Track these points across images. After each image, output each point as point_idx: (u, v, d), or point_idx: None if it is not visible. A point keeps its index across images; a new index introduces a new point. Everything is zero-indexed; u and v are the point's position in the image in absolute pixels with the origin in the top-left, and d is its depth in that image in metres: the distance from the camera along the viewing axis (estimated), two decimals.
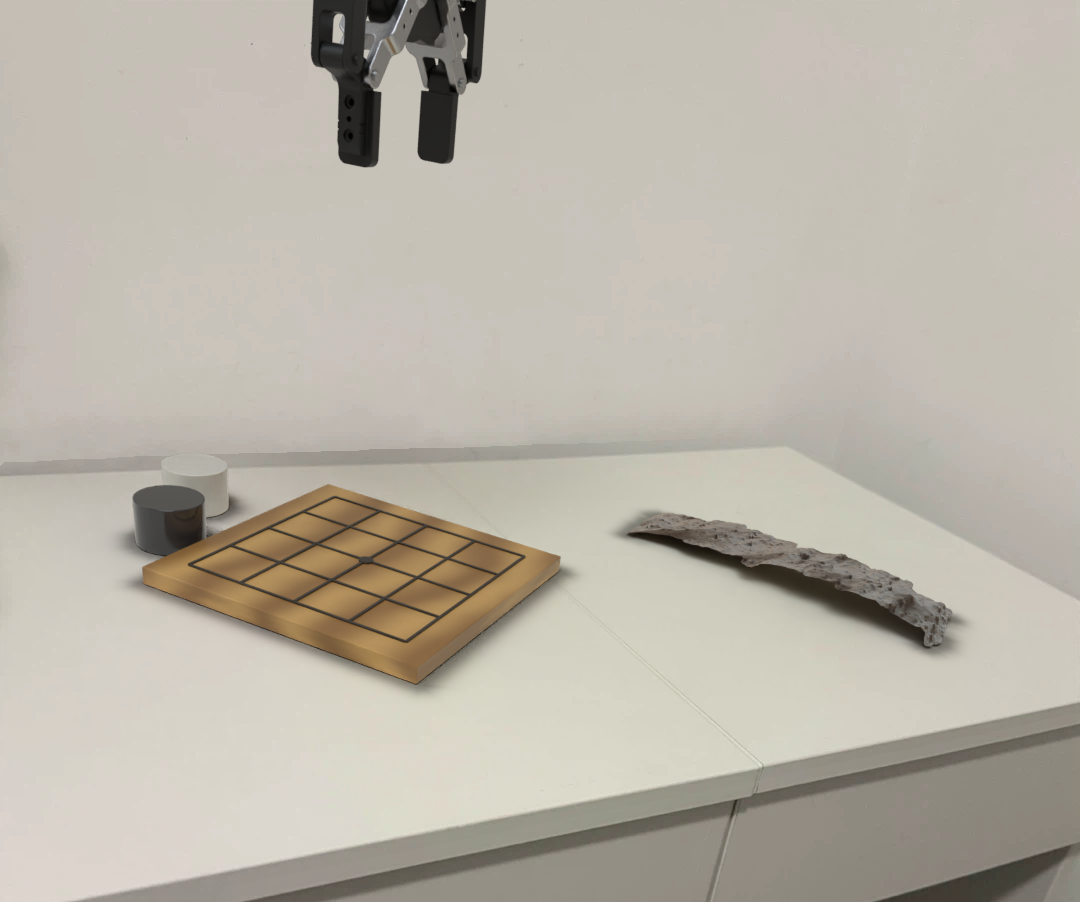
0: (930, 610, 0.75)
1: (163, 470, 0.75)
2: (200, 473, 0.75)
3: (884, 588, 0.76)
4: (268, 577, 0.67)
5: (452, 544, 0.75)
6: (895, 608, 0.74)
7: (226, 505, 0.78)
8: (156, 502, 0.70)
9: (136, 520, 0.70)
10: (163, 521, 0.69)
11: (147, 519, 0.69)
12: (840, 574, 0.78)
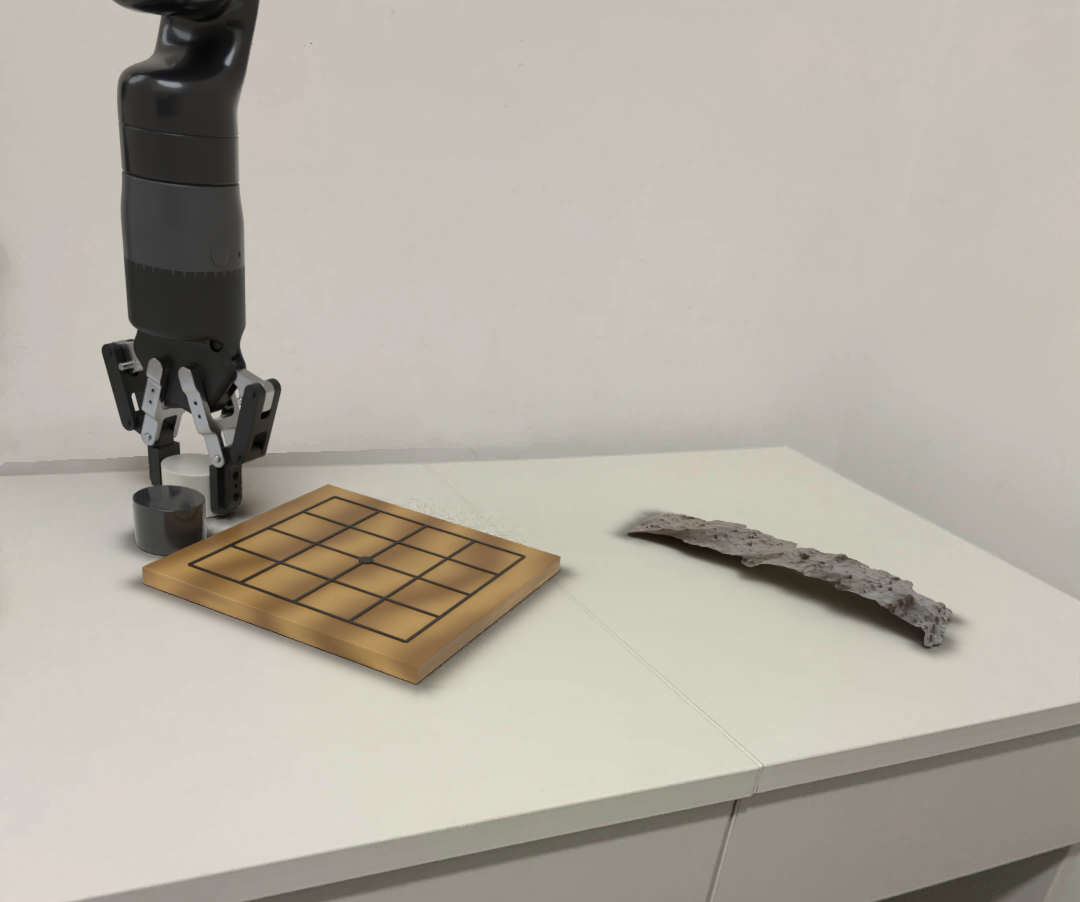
0: (930, 610, 0.75)
1: (163, 470, 0.75)
2: (200, 473, 0.75)
3: (884, 588, 0.76)
4: (268, 577, 0.67)
5: (452, 544, 0.75)
6: (895, 608, 0.74)
7: None
8: (156, 502, 0.70)
9: (136, 520, 0.70)
10: (163, 521, 0.69)
11: (147, 519, 0.69)
12: (840, 574, 0.78)
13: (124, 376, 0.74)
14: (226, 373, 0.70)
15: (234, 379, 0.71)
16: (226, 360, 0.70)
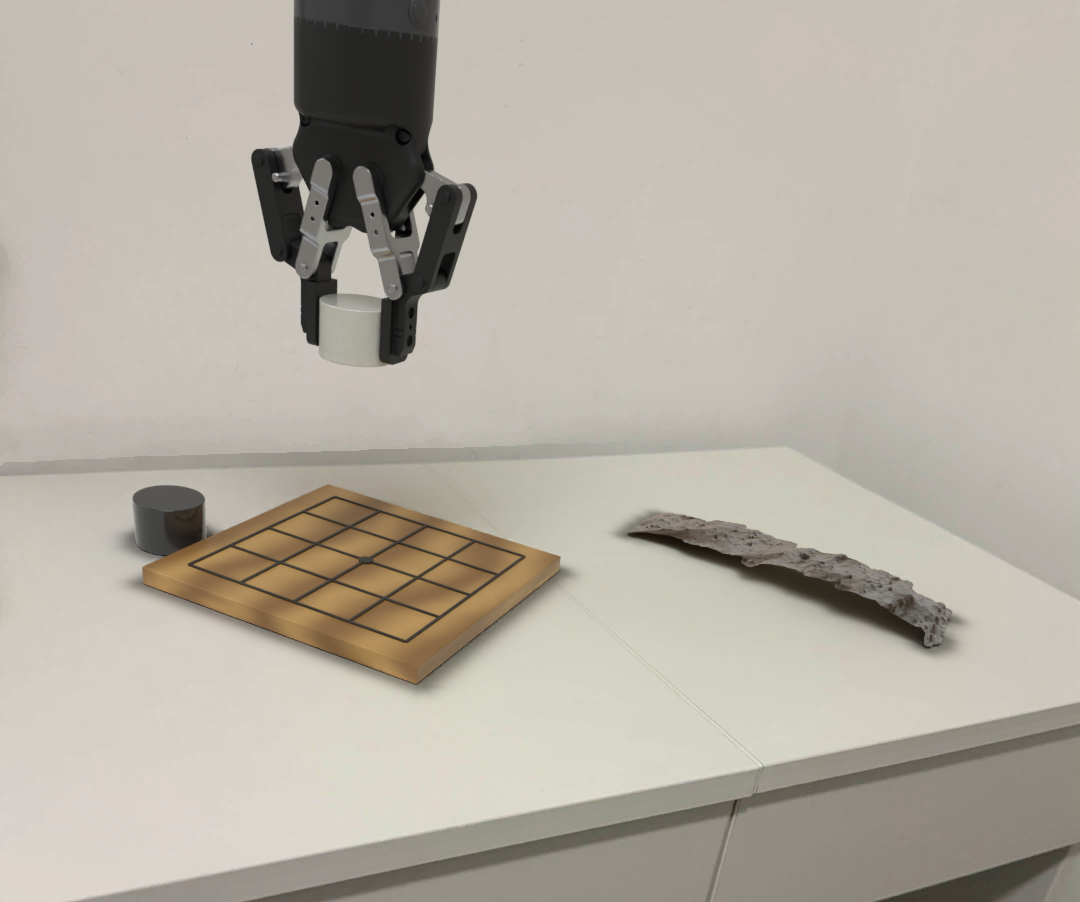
0: (930, 610, 0.75)
1: (324, 307, 0.62)
2: (369, 310, 0.62)
3: (884, 588, 0.76)
4: (268, 577, 0.67)
5: (452, 544, 0.75)
6: (895, 608, 0.74)
7: None
8: (156, 502, 0.70)
9: (136, 520, 0.70)
10: (163, 521, 0.69)
11: (147, 519, 0.69)
12: (840, 574, 0.78)
13: (277, 191, 0.61)
14: (414, 173, 0.57)
15: (421, 182, 0.58)
16: (414, 156, 0.57)
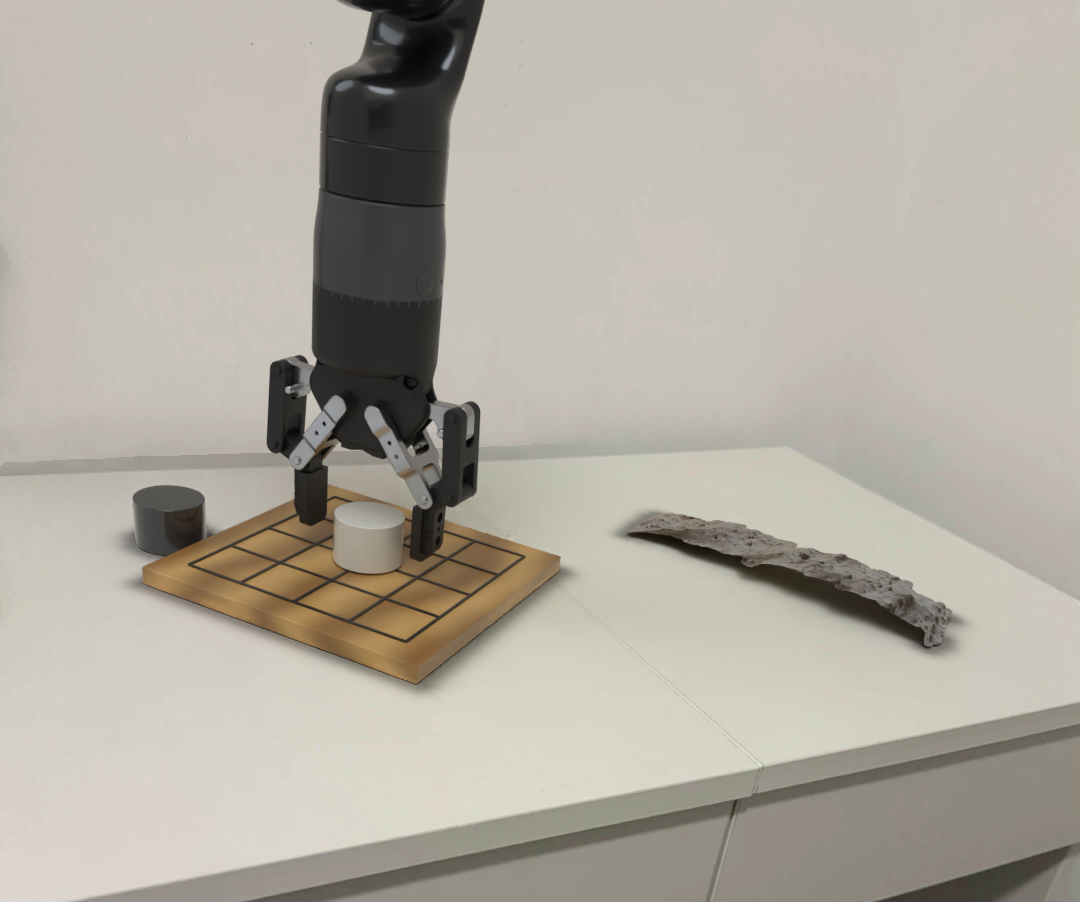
0: (930, 610, 0.75)
1: (338, 522, 0.68)
2: (379, 526, 0.68)
3: (884, 588, 0.76)
4: (268, 577, 0.67)
5: (452, 544, 0.75)
6: (895, 608, 0.74)
7: (401, 559, 0.71)
8: (156, 502, 0.70)
9: (136, 520, 0.70)
10: (163, 521, 0.69)
11: (147, 519, 0.69)
12: (840, 574, 0.78)
13: (287, 399, 0.67)
14: (420, 413, 0.63)
15: (426, 419, 0.64)
16: (416, 394, 0.63)
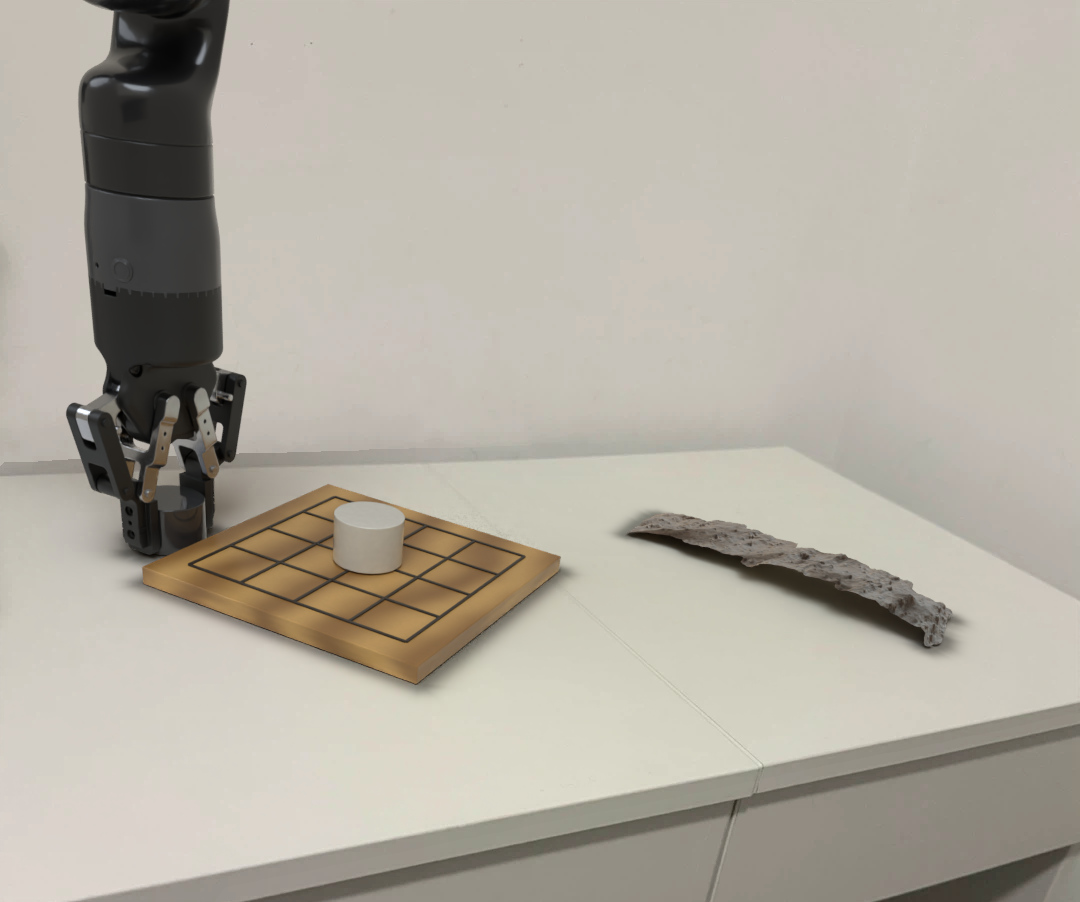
0: (930, 610, 0.75)
1: (338, 522, 0.68)
2: (379, 526, 0.68)
3: (884, 588, 0.76)
4: (268, 577, 0.67)
5: (452, 544, 0.75)
6: (895, 608, 0.74)
7: (401, 559, 0.71)
8: None
9: None
10: (163, 521, 0.69)
11: None
12: (840, 574, 0.78)
13: None
14: (216, 376, 0.69)
15: None
16: (212, 364, 0.69)
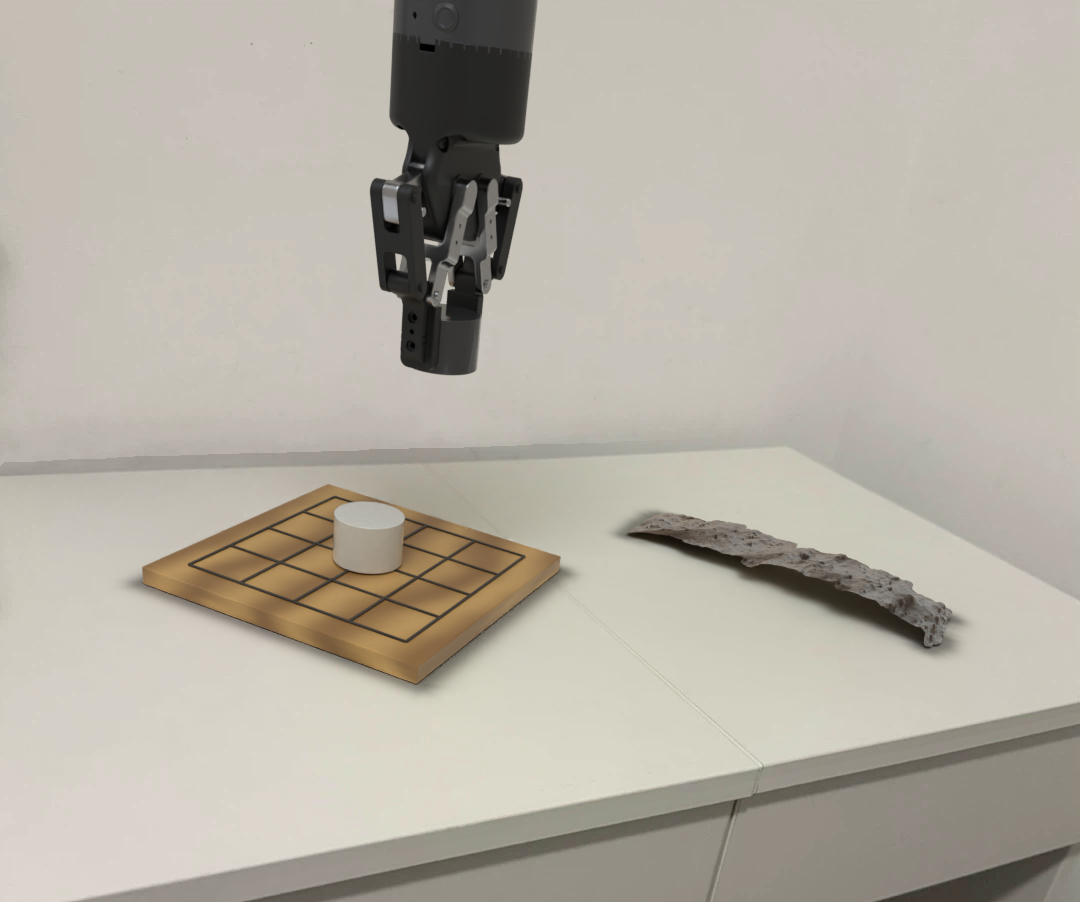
0: (930, 610, 0.75)
1: (338, 522, 0.68)
2: (379, 526, 0.68)
3: (884, 588, 0.76)
4: (268, 577, 0.67)
5: (452, 544, 0.75)
6: (895, 608, 0.74)
7: (401, 559, 0.71)
8: None
9: None
10: (444, 332, 0.63)
11: None
12: (840, 574, 0.78)
13: None
14: (500, 174, 0.63)
15: None
16: None
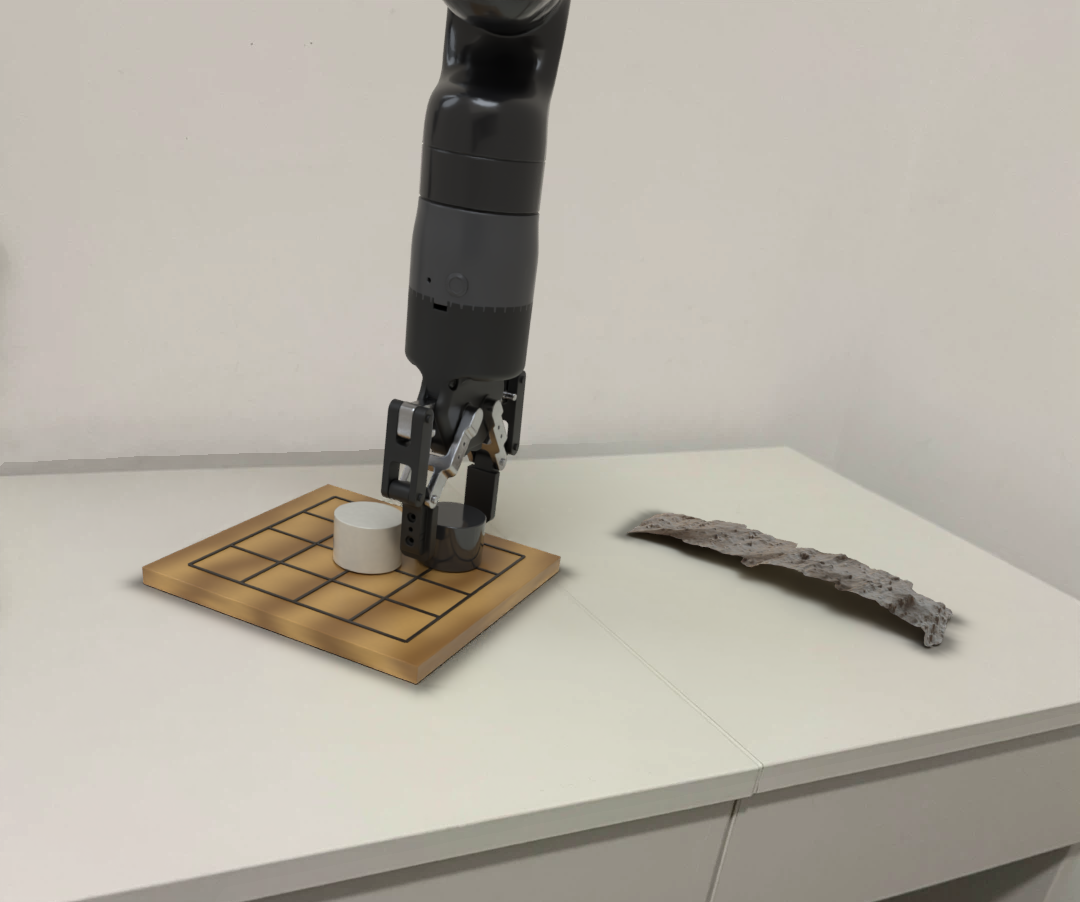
0: (930, 610, 0.75)
1: (338, 522, 0.68)
2: (379, 526, 0.68)
3: (884, 588, 0.76)
4: (268, 577, 0.67)
5: None
6: (895, 608, 0.74)
7: (401, 559, 0.71)
8: (443, 519, 0.70)
9: None
10: (453, 538, 0.70)
11: (436, 536, 0.70)
12: (840, 574, 0.78)
13: None
14: None
15: None
16: None
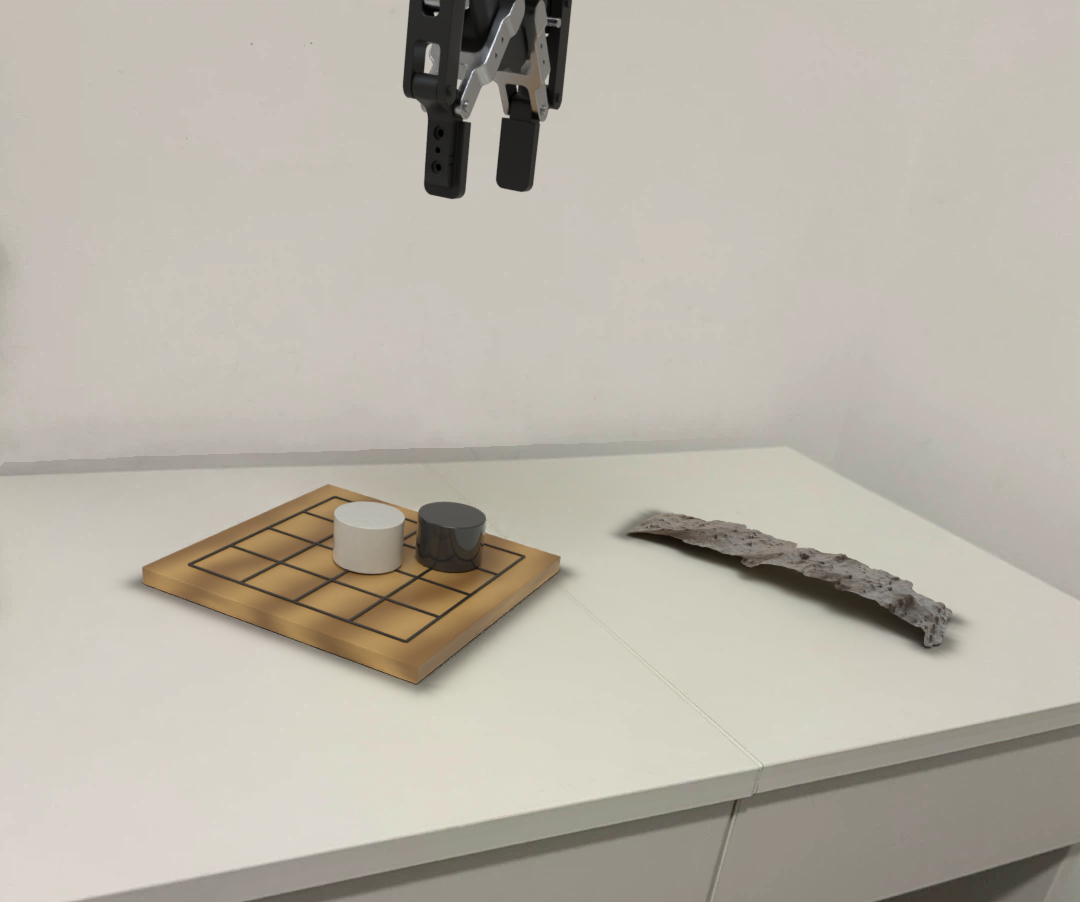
0: (930, 610, 0.75)
1: (338, 522, 0.68)
2: (379, 526, 0.68)
3: (884, 588, 0.76)
4: (268, 577, 0.67)
5: None
6: (895, 608, 0.74)
7: (401, 559, 0.71)
8: (443, 519, 0.70)
9: (422, 537, 0.70)
10: (453, 538, 0.70)
11: (436, 536, 0.70)
12: (840, 574, 0.78)
13: None
14: None
15: None
16: None
